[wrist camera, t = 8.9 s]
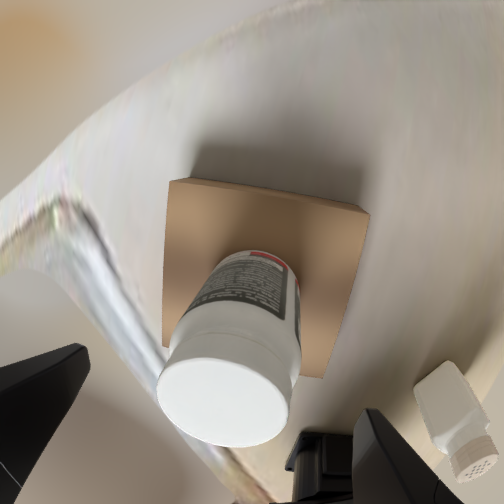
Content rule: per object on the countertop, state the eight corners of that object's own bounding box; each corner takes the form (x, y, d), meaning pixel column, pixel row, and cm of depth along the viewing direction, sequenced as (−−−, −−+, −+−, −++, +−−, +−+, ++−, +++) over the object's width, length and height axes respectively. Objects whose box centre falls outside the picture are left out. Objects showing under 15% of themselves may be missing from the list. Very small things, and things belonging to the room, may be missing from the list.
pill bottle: (192, 280, 16) (114, 380, 8) (263, 229, 15) (225, 312, 7) (246, 344, 17) (212, 464, 9) (317, 302, 16) (330, 426, 8)
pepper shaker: (408, 386, 20) (441, 481, 11) (448, 354, 19) (498, 442, 10) (429, 405, 20) (460, 490, 11) (465, 377, 19) (508, 457, 10)
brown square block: (319, 350, 20) (322, 378, 17) (178, 322, 21) (162, 346, 18) (358, 205, 17) (370, 214, 14) (189, 177, 18) (169, 181, 15)
